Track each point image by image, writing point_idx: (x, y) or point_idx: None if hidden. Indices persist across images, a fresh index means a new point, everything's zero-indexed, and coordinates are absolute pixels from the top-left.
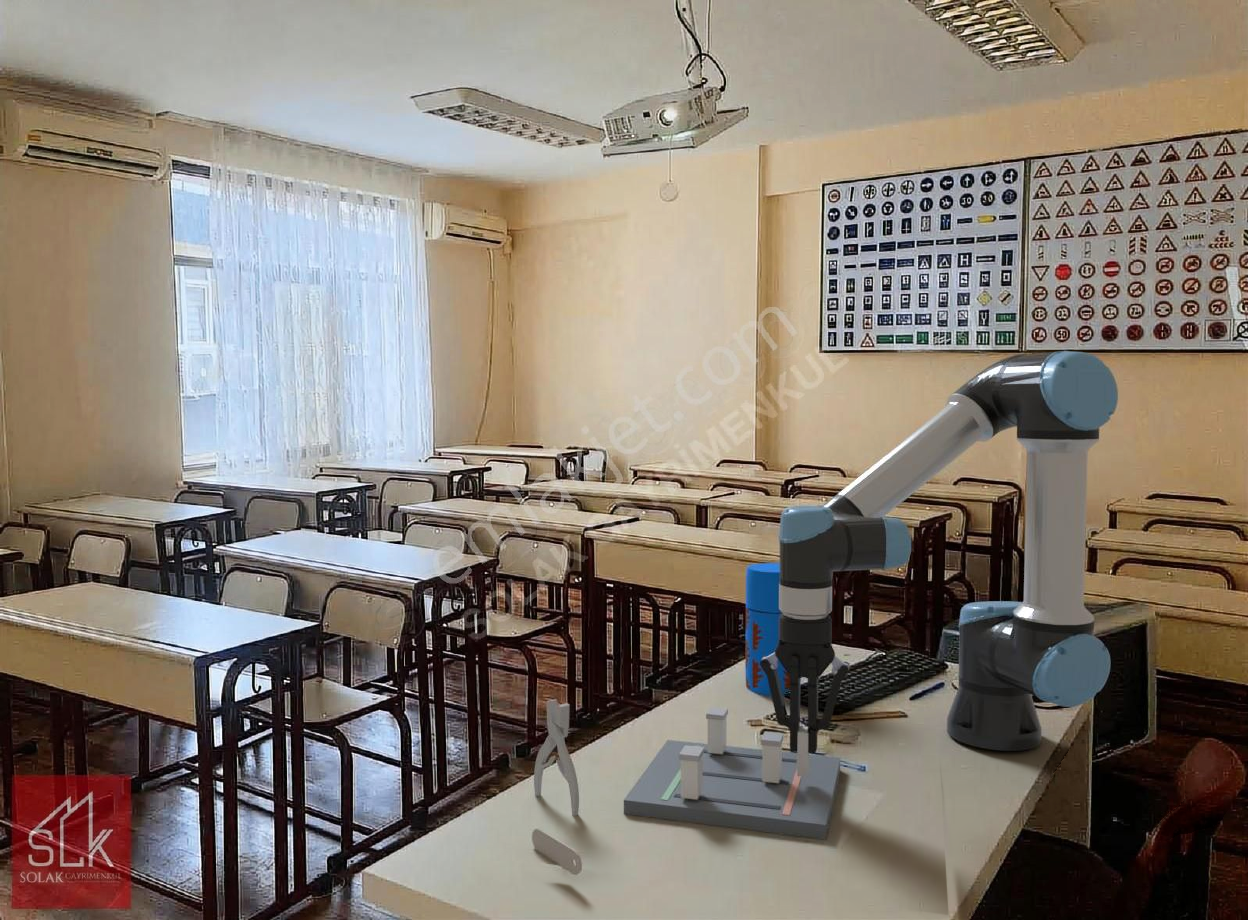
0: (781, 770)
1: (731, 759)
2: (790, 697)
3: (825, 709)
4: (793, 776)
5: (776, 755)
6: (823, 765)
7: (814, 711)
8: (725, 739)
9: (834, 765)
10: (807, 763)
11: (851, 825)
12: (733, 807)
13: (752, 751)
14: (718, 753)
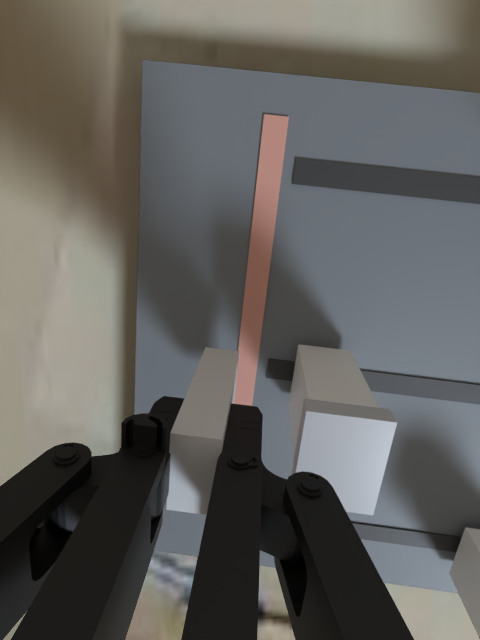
0: (290, 407)
1: (434, 507)
2: (253, 634)
3: (7, 528)
4: None
5: (315, 386)
6: None
7: (92, 522)
8: (465, 589)
9: None
10: (198, 366)
11: (91, 193)
12: (455, 145)
13: None
14: (478, 529)
